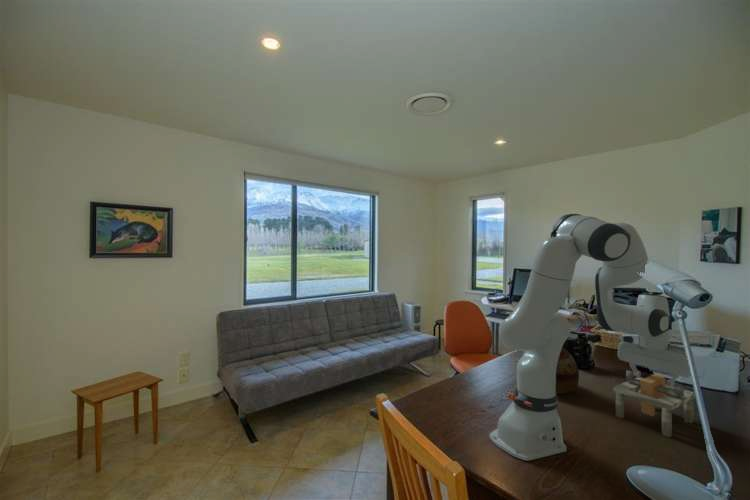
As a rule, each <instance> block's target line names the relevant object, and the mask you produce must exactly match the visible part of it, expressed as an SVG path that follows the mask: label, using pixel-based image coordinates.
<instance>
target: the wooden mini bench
mask: <svg viewBox="0 0 750 500" xmlns="http://www.w3.org/2000/svg"><path fill="white" fill-rule="evenodd" d="M643 378H644V377H643ZM665 384H666V375H665V376H664V375H660V374H657V373H653V374H650V375H649V376H647V377H646V376H645V378H644V379H642V380H641V394H644V395H647V396H650V397H653V398H656V399H659V398H662V397H664V396H666V395H667V394H665V393H661V392H658V391H655V390H654V388H655V387H657V386H662V387H666V386H665ZM656 408H658V409H661V407H659V406H656V405H653V404H650V403H647V402H644V401H641V406H640V409H641V413H643V414H645V415H648V416H651V417H653V416H655V415H656Z"/></svg>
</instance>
